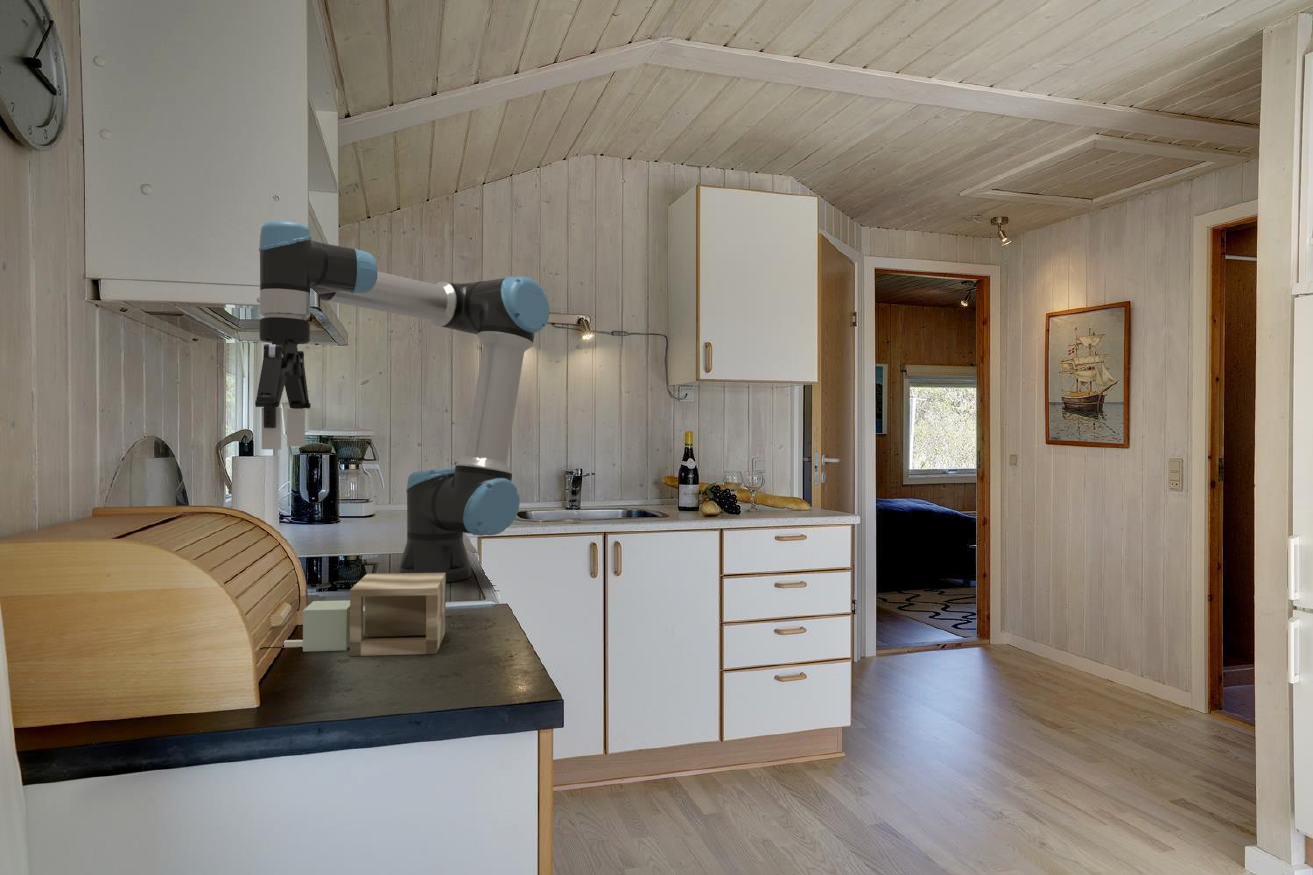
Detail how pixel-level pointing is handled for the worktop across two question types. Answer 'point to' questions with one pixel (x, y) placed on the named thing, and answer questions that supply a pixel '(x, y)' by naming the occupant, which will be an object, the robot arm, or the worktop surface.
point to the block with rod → (324, 627)
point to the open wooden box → (398, 613)
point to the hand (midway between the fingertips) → (284, 448)
